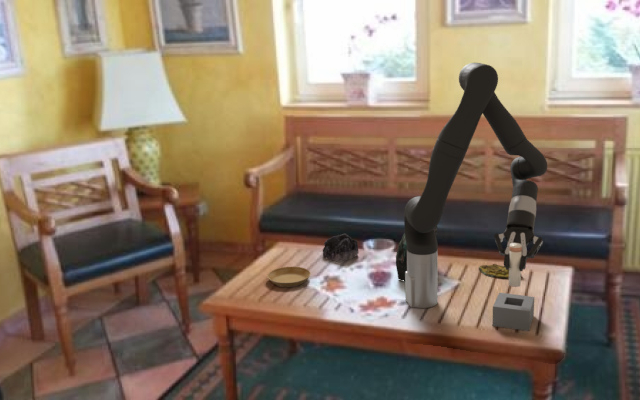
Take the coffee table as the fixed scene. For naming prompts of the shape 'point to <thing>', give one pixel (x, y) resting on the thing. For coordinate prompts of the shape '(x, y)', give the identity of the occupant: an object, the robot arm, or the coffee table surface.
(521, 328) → the hole block
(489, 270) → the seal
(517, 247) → the dowel
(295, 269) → the plant saucer
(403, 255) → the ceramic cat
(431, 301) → the robot arm
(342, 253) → the crystal cluster
